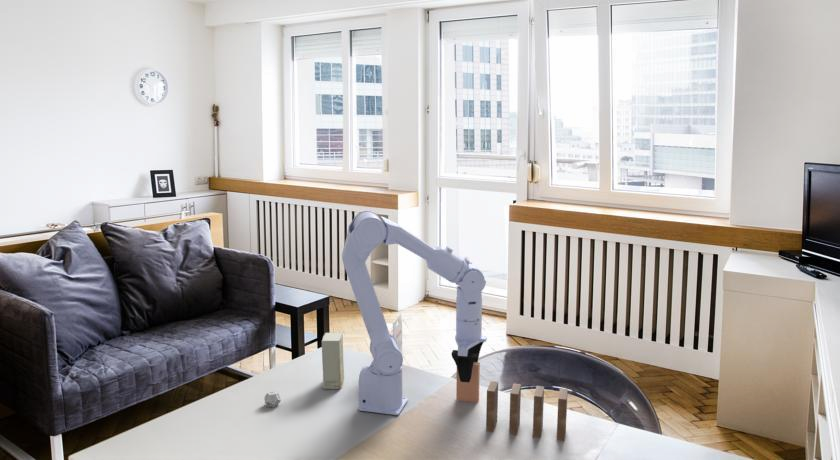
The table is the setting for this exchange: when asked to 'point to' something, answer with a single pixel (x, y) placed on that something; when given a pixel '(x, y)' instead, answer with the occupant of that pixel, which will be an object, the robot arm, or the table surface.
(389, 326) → the ink cartridge box
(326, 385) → the skincare box
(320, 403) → the table surface
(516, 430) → the domino
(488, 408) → the domino
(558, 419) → the domino
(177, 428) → the table surface
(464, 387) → the head domino
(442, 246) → the robot arm
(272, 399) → the game die
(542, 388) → the domino
